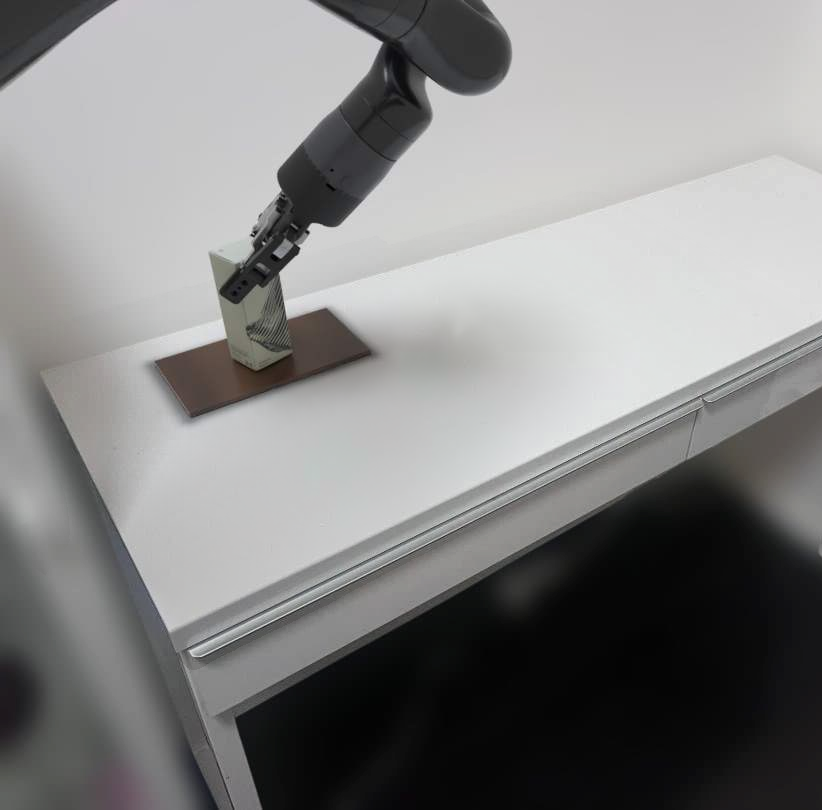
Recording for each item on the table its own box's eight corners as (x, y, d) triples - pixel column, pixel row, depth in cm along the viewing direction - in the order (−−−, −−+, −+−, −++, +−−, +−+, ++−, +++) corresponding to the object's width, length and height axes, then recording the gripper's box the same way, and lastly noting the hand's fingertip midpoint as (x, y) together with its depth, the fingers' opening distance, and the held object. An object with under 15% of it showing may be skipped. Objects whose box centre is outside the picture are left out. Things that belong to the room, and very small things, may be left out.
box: (256, 373, 85) (232, 265, 77) (230, 358, 87) (204, 251, 79) (296, 352, 89) (276, 245, 81) (269, 338, 91) (248, 232, 83)
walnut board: (190, 417, 80) (189, 413, 80) (155, 365, 87) (153, 360, 86) (371, 354, 90) (370, 349, 90) (326, 311, 97) (326, 307, 96)
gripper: (312, 113, 80) (213, 226, 86) (297, 168, 69) (185, 294, 75) (371, 164, 84) (273, 269, 90) (367, 224, 73) (254, 340, 78)
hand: (233, 280), depth 82 cm, fingers closed on box, 6 cm apart
